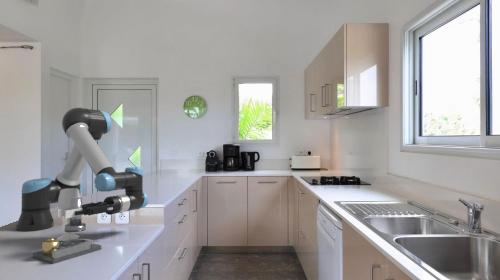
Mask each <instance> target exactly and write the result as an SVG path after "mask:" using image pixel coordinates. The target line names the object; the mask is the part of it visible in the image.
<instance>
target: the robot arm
mask: <svg viewBox="0 0 500 280" xmlns="http://www.w3.org/2000/svg"><path fill="white" fill-rule="evenodd" d="M112 122H113V121H112V119H111V116H110V114H109V113H108V112H106V111H104V110H100V109H92V108H91V109H90V108H83V107H74V108H71V109H69V110H68V111H66V113H64V115H63V117H62V120H61V125H62V129H63V132H64V133H65V135H66V137H68V138H69V139H71V140H72V141H73V145H72V149H71V150H70V153H69V155H68V157H67V159H66V162H65V164H64V166H63V169H62V171H61V172H59V173H57V174H56V177H55V179H53V180H51V179H52V178H49V177H45V178H44V177H42V178H34V179H30V180H26V181H24V182H23V184H22V187H21V208H20V209H21V211H20V212H21V213H20V215H19V217H18V220H17V222H16V225H15V226H16V228H15V229H16V231H20V232H32V230H34V231H42V230H46V229H51V228H52V227H54V225H55V220H54V217H53V215H52V213H51V204H56V203H57V204H58V200H59V194H60V191H61V190H62V189H72V188H74V189H78V190H79V195H80V196H81V193H82V191H83V188H82V187H83V184H82V182H81V181H82V180H81V178H80V177H81V174H82V172H83V171H84V168H85V166H86V164H87V165H88V166H89V168H90V169H91V171H92V172H93V173H94V175H95V178H94V180H93V181H94V183H93V184H94V187H95V189H96V190H97V191H99V192H113V191H118V190H125V191H124V192H125V193H124V194H117V195H112V196H107V197H105V198H104V199H103V201H97V202H93V201H92V202H90V203H84V204H83V203H82V208H79V209H73V210H70V208H64V209H59V208H58V209H57V210H56V218H61V217H62V218H63V217H64V219H67V218H71V217H77V216H82V217H83V216H93V215H98V214H99V215H100V214H103V213H104V214H106V215H108V216H110V215H116V214H119V213H120V214H123V213H125V212H130V211H136V210H140V209H143V208H145V207H147V205H148V204H149V197H148V194H147V193H146V192H145V191H143V189H144V187H143V185H144V184H143V182H144V181H143V177H144V174H143V168H142V167H141V166H130V167H129V166H128V167H125V168H124V171H119V172H117V171H116V170H115V168H114V167H113V166H112V164H111V163H110V161H109V159H108V158H107V157H106V154H104V152H103V151H102V149H101V147H100V146H99V145H98V143H97V141H100V140H101V139H102V136H103V135H105V134H108V133H110V132H111V130H112V126H113V125H112Z"/></svg>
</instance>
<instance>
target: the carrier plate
mask: <svg viewBox="0 0 500 280" xmlns="http://www.w3.org/2000/svg"><path fill="white" fill-rule="evenodd" d="M41 248H42V249H41V250H38V251H35V252H32V253H31V254H32V258H34V259H37V260H40V261H44V262H46V263H49V264H53V265H54V264H57V263H58V264H59V263H60V262H64V261H66V260H68V261H69V260H70V259H73V258H74V259H75V258H77V257H81V256H83V255H88V254H91V253H93V252H97V251H100V250H102V244H97V243H94V240H93V239H91V238H90V239H89V238H78V239H73V240H67V241H59V240H57V239H55V238H54V237H49V238H47V239H46V240H44V241H42V246H41Z"/></svg>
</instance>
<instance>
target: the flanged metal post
mask: <svg viewBox="0 0 500 280" xmlns="http://www.w3.org/2000/svg"><path fill="white" fill-rule="evenodd" d="M82 205H83V198H82V197H80V198H70V210H73V209H79V208H82ZM82 218H83V215H82V216H77V217H71V218H70V224H65V225H64V232H65V233H67V232H70V233H78V232H83V231H86V230H87V223H86V222H82V220H83V219H82Z"/></svg>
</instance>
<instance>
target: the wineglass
mask: <svg viewBox="0 0 500 280" xmlns="http://www.w3.org/2000/svg"><path fill="white" fill-rule="evenodd" d="M70 198H81V194H80V195H79V190H78V189H74V188H72V189H62V190H61V191H60V194H59V200H58V203H57V204H58V206H57V207H58V209H64V208H70ZM66 219H67V224H70V218H66ZM67 224H66V225H67ZM65 233H66V234H63V235H60V236H58V237H57V238H56V240H59V242H63V241H67V240H73V239H80V237H81V236H80V235H78V234H72V232H65Z"/></svg>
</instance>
